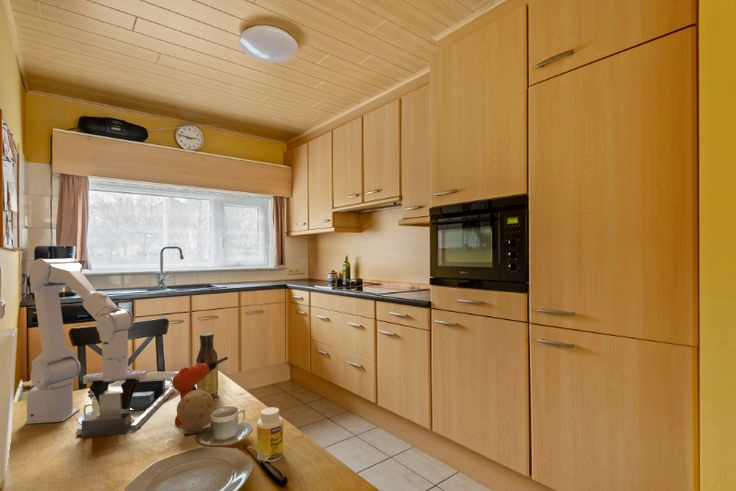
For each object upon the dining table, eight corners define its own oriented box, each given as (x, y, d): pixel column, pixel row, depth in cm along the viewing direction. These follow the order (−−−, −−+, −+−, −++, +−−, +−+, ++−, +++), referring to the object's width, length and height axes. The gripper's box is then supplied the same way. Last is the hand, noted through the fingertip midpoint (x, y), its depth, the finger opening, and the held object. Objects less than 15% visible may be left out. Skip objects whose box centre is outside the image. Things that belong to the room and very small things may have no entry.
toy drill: (237, 396, 117) (232, 349, 115) (183, 430, 100) (177, 375, 99) (225, 394, 119) (220, 347, 117) (171, 427, 102) (164, 372, 101)
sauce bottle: (202, 393, 124) (202, 331, 125) (221, 393, 124) (221, 331, 124) (192, 400, 118) (192, 335, 118) (212, 400, 118) (212, 335, 118)
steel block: (99, 422, 98) (99, 395, 98) (109, 413, 103) (109, 387, 103) (120, 420, 99) (120, 393, 99) (129, 412, 104) (129, 386, 104)
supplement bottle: (271, 466, 81) (270, 418, 81) (251, 460, 84) (251, 413, 84) (288, 454, 86) (288, 408, 86) (269, 448, 89) (269, 403, 89)
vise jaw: (112, 411, 110) (112, 394, 110) (131, 396, 122) (131, 380, 122) (149, 409, 111) (149, 391, 111) (165, 394, 123) (165, 378, 123)
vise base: (73, 438, 95) (73, 421, 95) (128, 394, 124) (128, 381, 124) (133, 433, 97) (133, 417, 97) (173, 391, 126) (173, 379, 126)
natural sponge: (185, 422, 103) (185, 385, 103) (219, 420, 104) (219, 383, 104) (171, 439, 94) (171, 397, 94) (209, 437, 95) (208, 396, 95)
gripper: (75, 362, 97) (75, 417, 97) (138, 359, 99) (138, 412, 99) (91, 355, 104) (91, 406, 104) (149, 352, 106) (149, 402, 106)
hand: (115, 408), depth 102 cm, fingers closed on steel block, 5 cm apart
